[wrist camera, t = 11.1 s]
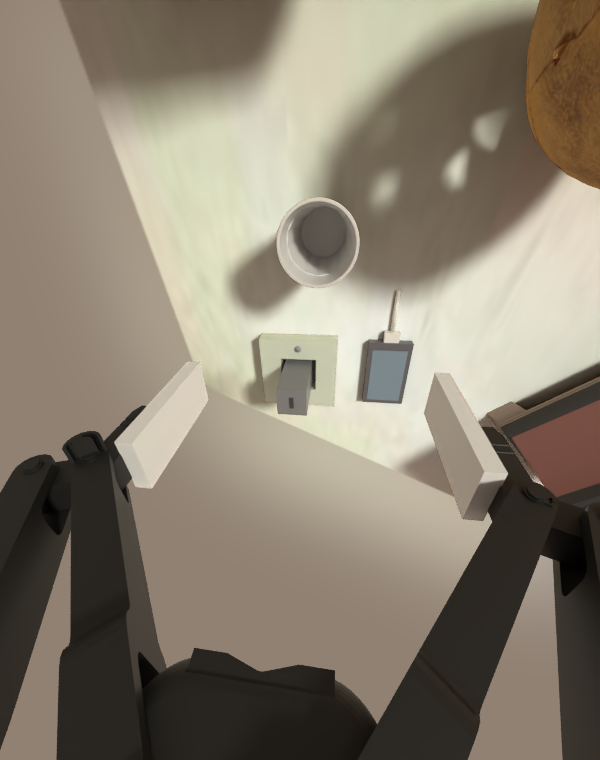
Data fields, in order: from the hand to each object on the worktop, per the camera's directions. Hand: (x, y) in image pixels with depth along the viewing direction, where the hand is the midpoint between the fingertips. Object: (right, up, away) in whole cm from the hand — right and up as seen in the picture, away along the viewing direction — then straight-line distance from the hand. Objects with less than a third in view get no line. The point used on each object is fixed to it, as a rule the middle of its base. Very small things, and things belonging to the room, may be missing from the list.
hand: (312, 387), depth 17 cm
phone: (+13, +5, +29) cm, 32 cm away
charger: (-1, +3, +33) cm, 33 cm away
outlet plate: (-1, +3, +33) cm, 33 cm away
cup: (+2, +20, +22) cm, 29 cm away
